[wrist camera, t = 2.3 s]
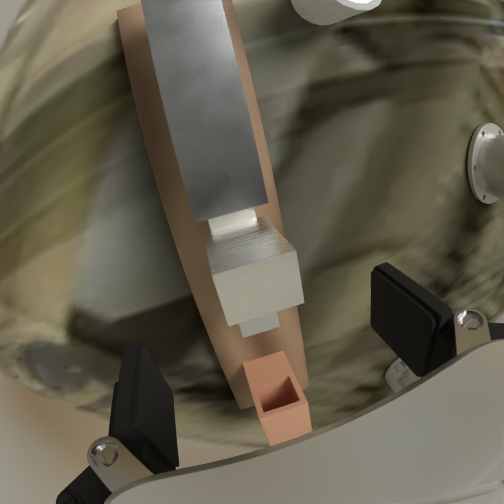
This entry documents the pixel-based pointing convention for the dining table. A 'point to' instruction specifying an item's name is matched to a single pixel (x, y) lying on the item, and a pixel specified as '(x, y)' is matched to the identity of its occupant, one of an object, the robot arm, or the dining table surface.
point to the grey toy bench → (205, 106)
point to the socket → (278, 398)
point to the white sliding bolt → (252, 270)
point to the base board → (192, 234)
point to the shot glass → (331, 9)
